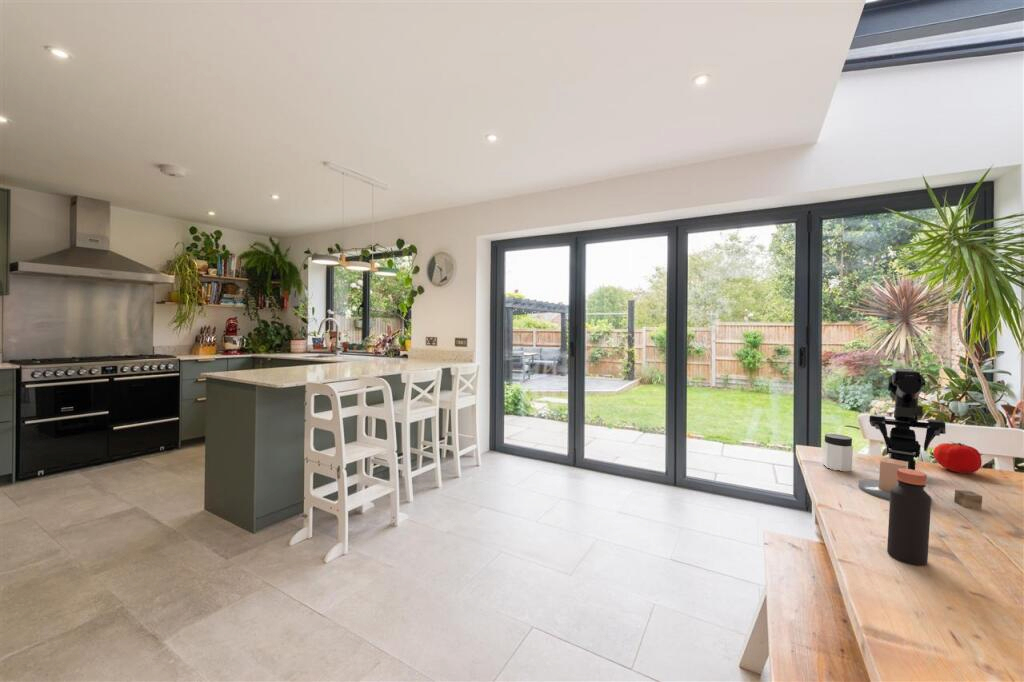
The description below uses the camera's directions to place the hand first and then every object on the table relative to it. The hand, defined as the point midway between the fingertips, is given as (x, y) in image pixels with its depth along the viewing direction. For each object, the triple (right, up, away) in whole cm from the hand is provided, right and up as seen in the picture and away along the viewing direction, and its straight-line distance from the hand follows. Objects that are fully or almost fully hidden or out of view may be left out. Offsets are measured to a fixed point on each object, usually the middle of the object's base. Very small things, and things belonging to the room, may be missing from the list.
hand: (905, 448), depth 141 cm
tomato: (+34, -13, +16) cm, 40 cm away
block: (+5, -14, -15) cm, 21 cm away
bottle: (-41, -14, -44) cm, 62 cm away
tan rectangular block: (-10, -12, -6) cm, 16 cm away
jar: (-10, -12, +17) cm, 23 cm away
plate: (-10, -13, -6) cm, 17 cm away
